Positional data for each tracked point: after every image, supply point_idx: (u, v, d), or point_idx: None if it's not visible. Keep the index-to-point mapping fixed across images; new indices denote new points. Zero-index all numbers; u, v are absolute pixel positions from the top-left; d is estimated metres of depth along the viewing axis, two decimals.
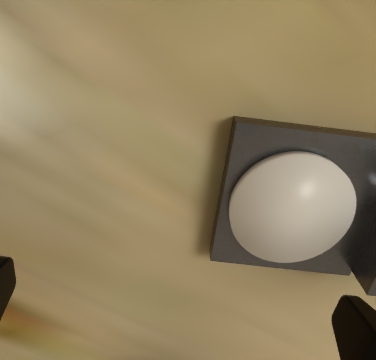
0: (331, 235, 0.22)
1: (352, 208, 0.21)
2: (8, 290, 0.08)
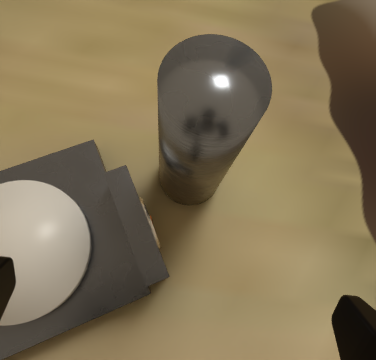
0: (75, 249, 0.19)
1: (75, 209, 0.20)
2: (8, 290, 0.08)
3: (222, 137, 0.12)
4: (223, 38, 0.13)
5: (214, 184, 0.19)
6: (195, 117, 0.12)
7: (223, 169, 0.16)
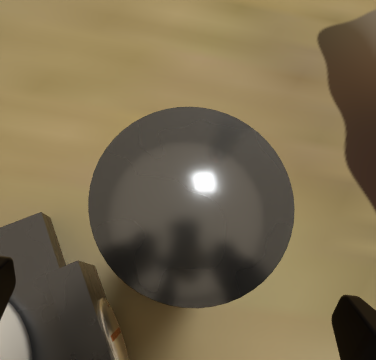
0: None
1: (7, 322, 0.14)
2: (8, 290, 0.08)
3: (207, 306, 0.06)
4: (207, 113, 0.07)
5: None
6: (157, 272, 0.06)
7: None
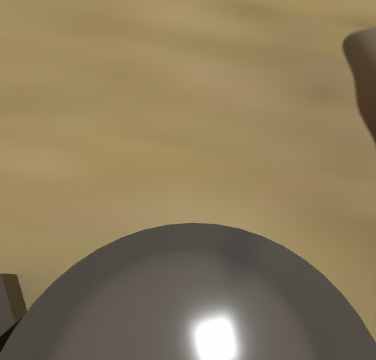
0: None
1: None
2: None
3: None
4: (225, 237, 0.04)
5: None
6: None
7: None
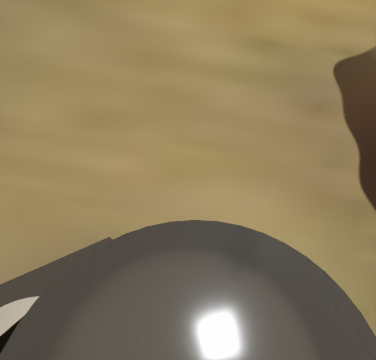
0: None
1: None
2: None
3: None
4: (227, 234, 0.04)
5: None
6: None
7: None
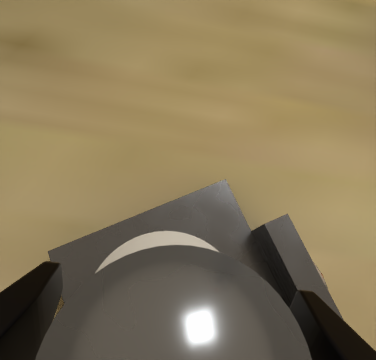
0: None
1: None
2: (57, 295, 0.08)
3: None
4: (197, 255, 0.06)
5: None
6: None
7: None
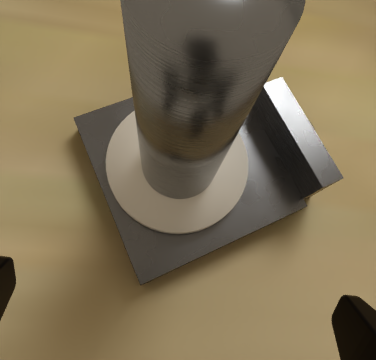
0: (235, 161, 0.19)
1: None
2: (8, 290, 0.08)
3: (228, 65, 0.07)
4: None
5: (212, 167, 0.14)
6: (182, 31, 0.07)
7: (225, 140, 0.12)
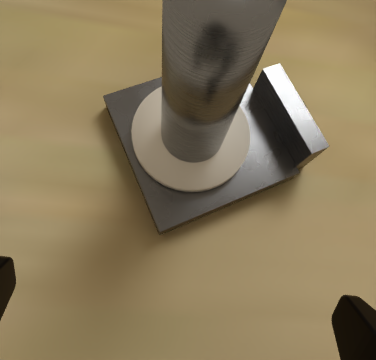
0: (239, 133, 0.23)
1: None
2: (8, 290, 0.08)
3: (234, 37, 0.11)
4: None
5: (221, 129, 0.18)
6: (205, 14, 0.11)
7: (232, 102, 0.15)
